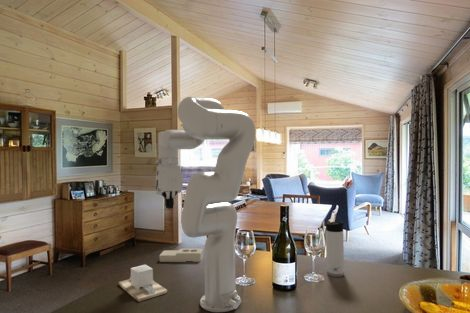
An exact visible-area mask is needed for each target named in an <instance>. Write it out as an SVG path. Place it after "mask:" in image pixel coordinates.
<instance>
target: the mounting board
mask: <svg viewBox="0 0 470 313" xmlns="http://www.w3.org/2000/svg"><path fill="white" fill-rule="evenodd" d="M118 285H119V287H120V288H122V289H123V290H124V291H125V292H126V293H127V294H129V295H130V296H131V297H132V298H133V299H135V300H136V301H137V302H140V303H141V302H143V301H146V300H149V299H153V298H155V297H159V296H162V295H165V294H168V289H167V288H165V287H164V286H162V285H160V283H158V282H156V281H155V280H153V286H152V287H153V288H154V289H155V291H156V292H155V293H151V294H147V293H146V292H145V291H143V290H142V289H141V288H140V290H137V289H136V288H135V287H133V286H132V285H131V281H130V278H129V279H125V280H121V281H118ZM150 286H151V285H150Z"/></svg>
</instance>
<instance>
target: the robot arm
mask: <svg viewBox="0 0 470 313" xmlns="http://www.w3.org/2000/svg"><path fill="white" fill-rule="evenodd" d="M177 107H178V108H177V117H178V119H179V121H180V123H181V125H182V129H166V130H164V131H160V132H159V133H158V136H157V141H158V142H157V143H158V158H157V159H156V160H155V164H158V166H156V171H155V172H156V173H155V190H156V192H155V194H156V195H160V196H162V197H163V198H164V207H165V209H168V210H170V209H171V210H172V209H174V203H175V202H174V200H175V197H176V195H178V194H180V193H181V192H182V191H183V190H182V189H183V187H184V183H183V174H182V169H181V165H179V153H178V152H179V150H194V149H196V148H198V147H199V146H201V145H202V144H204V142H205V140H228V142H227V143H226V144H225V145H224V147H223V148H222V149H221V150H220V151H219V154H218V156H217V158H216V163H215V167H214V169H213V170H211V171H200V172H196V173H194V174H193V175H192V176H191V177H190V179H189V180H188V182H187V186H186V190H185V196H184V201H183V206H182V212H181V219H180V223H181V229H182V232H183V234H184V235H185V236H187V237H188V238H193V239H194V238H195V239H196V238H201V237H205V236H206V239H205V241H204V242H205V243H204V246H203V263H204V265H203V266H204V294H203V295H202V296H201V298H200V300H199V302H200V303H199V305H200V307H201V308H202V309H203V310H205V311H208V312H211V313H225V312H230V311H234V310H237V309H239V308H238V307H239V306H241V303H243V302H242V299H241V296H239V294H238V291H237V290H236V257H235V254H236V248H235V246H236V245H235V244H236V242H235V240H236V229H237V223H238V211H237V209H236V207H235V206H234V205H233V204H232V203H230V202H233V201H234V200H236V199H237V197H238V195H239V193H240V190H241V186H242V183H243V179H244V178H243V177H244V176H245V175H244V174H245V171H246V170H245V169H246V165H247V162H248V159H249V156H250V154H251V152H252V151H253V150H252V149H253V147H254V144H255V140H256V125H255V123H254V120H253V118H252V117H251V116H250V115H249V114H248V113H246V112H243V111H240V110H234V109H233V110H232V109H225V108H224V106H223V104H222V103H221V101H218V100H217V99H214V98H212V97H211V98H210V97H209V98H208V97H199V96H187V97H184V98H183V99H182V100H181V101H180V102H179V105H178V106H177Z"/></svg>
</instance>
